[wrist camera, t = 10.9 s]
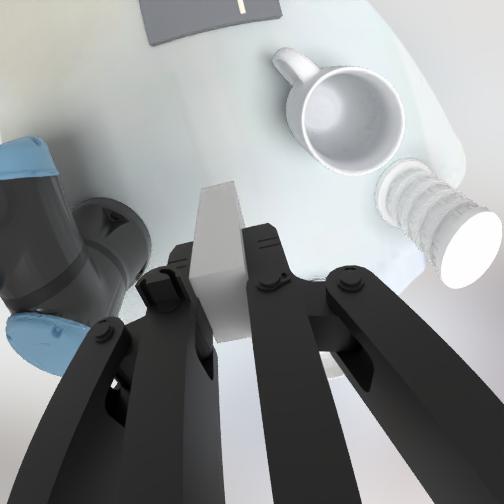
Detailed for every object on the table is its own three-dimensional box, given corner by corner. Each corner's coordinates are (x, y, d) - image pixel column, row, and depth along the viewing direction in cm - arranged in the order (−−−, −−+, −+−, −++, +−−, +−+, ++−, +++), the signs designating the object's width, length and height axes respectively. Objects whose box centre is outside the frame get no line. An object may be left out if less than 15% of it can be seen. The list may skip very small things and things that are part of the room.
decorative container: (410, 143, 39) (491, 188, 24) (441, 190, 44) (510, 245, 29) (361, 194, 43) (424, 261, 28) (397, 235, 48) (454, 303, 33)
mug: (236, 83, 33) (243, 85, 22) (299, 30, 30) (335, 11, 19) (312, 161, 40) (348, 198, 29) (369, 113, 36) (422, 132, 25)
